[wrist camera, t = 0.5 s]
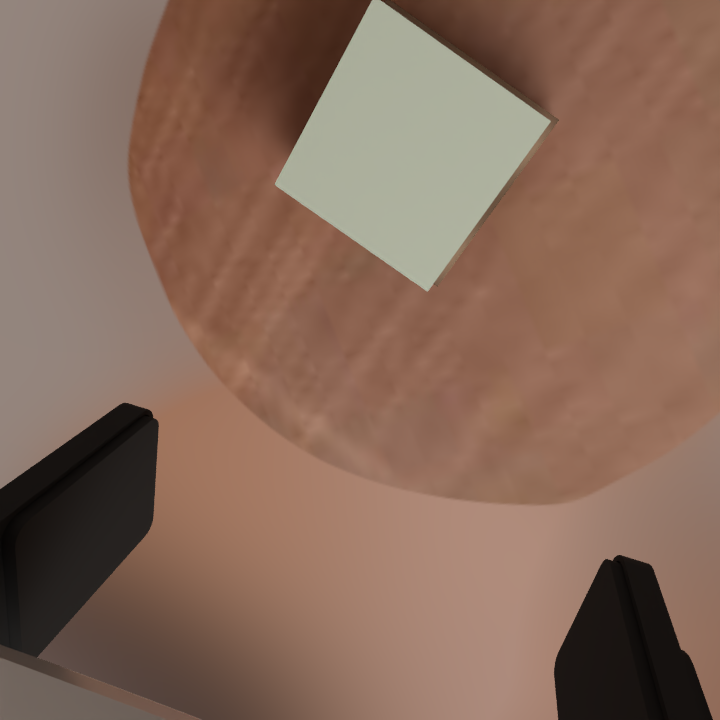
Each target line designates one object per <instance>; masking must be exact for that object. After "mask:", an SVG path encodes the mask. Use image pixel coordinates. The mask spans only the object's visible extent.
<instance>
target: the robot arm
mask: <svg viewBox="0 0 720 720" xmlns="http://www.w3.org/2000/svg"><path fill="white" fill-rule="evenodd" d="M158 427H159V425H158V421H157V420H156V419H154V418H153V414H152V412H151V411H150V410H148V409H145V408H141V407H138V406H135V405H132V404H129V403H122V404H120V405H119V406H117V407H116V408H115V409H113V410H112V411H110V412H109V413H107V414H106V415H105V416H103V417H102V418H101V419H99V420H98V421H96V422H95V423H93V424H92V425H91V426H89V427H88V428H86V429H85V430H83V431H82V432H81V433H79V434H78V435H76V436H75V437H73V438H72V439H71V440H69V441H68V442H66V443H65V444H64V445H62V446H61V447H59V448H58V449H56V450H55V451H54V452H52V453H51V454H49V455H48V456H47V457H45V458H44V459H42V460H41V461H40V462H38V463H37V464H35V465H34V466H32V467H31V468H30V469H28V470H27V471H25V472H24V473H23V474H21V475H20V476H18V477H17V478H16V479H14V480H13V481H11V482H10V483H8V484H7V485H6V486H4V487H3V488H1V489H0V720H201V719H199V718H196V717H194V716H191V715H188V714H186V713H183V712H180V711H178V710H175V709H172V708H170V707H167V706H164V705H162V704H159V703H157V702H154V701H151V700H149V699H146V698H143V697H141V696H138V695H135V694H133V693H130V692H128V691H125V690H122V689H120V688H117V687H114V686H112V685H109V684H106V683H103V682H101V681H98V680H96V679H93V678H90V677H88V676H85V675H82V674H80V673H77V672H74V671H72V670H69V669H67V668H64V667H61V666H59V665H56V664H53V663H50V662H48V661H45V660H42V659H39V658H37V657H38V656H39V654H40V653H41V652H42V651H43V650H44V649H45V648H46V647H47V646H48V644H49V643H50V642H51V641H52V640H53V639H54V637H56V635H57V634H58V633H59V632H60V631H61V630H62V629H63V628H64V626H65V625H66V624H67V623H68V622H69V621H70V619H72V617H73V616H74V615H75V614H76V613H77V612H78V611H79V610H80V608H81V607H82V606H83V605H84V604H85V603H86V601H88V600H89V598H90V597H91V596H92V595H93V594H94V593H95V592H96V591H97V589H98V588H99V587H100V586H101V585H102V584H103V583H104V582H105V580H106V579H107V578H108V577H109V576H110V575H111V574H112V573H113V571H114V570H115V569H116V568H117V567H118V566H119V565H120V563H121V562H122V561H123V560H124V559H125V558H126V557H127V555H129V554H130V552H131V551H132V550H133V549H134V548H135V547H136V546H137V544H138V543H139V542H140V541H141V540H142V539H143V538H144V537H145V535H146V534H147V533H148V531H149V529H150V527H151V524H152V521H153V512H154V496H155V478H156V461H157V444H158ZM554 678H555V688H556V699H557V710H558V720H713V719H712V716H711V713H710V711H709V708H708V705H707V702H706V699H705V696H704V694H703V691H702V688H701V685H700V682H699V679H698V677H697V674H696V671H695V668H694V665H693V663H692V661H691V659H690V657H689V655H688V654H687V653H685V651H683V650H681V649H680V646H679V643H678V640H677V637H676V634H675V632H674V628H673V625H672V622H671V619H670V616H669V613H668V611H667V608H666V605H665V602H664V599H663V596H662V593H661V590H660V587H659V584H658V581H657V578H656V576H655V573H654V570H653V568H652V566H651V565H650V564H647V563H644V562H641V561H637V560H634V559H631V558H628V557H625V556H621V555H618V556H616V557H615V558H614V560H613V561H611V560H608V559H605V560H604V561H603V563H602V564H601V566H600V568H599V570H598V572H597V574H596V576H595V579H594V580H593V583H592V585H591V587H590V589H589V591H588V593H587V595H586V597H585V599H584V601H583V603H582V605H581V607H580V609H579V611H578V613H577V615H576V617H575V620H574V622H573V624H572V626H571V628H570V630H569V632H568V634H567V636H566V638H565V640H564V642H563V644H562V646H561V648H560V650H559V652H558V655H557V657H556V662H555V668H554Z"/></svg>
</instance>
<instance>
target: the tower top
mask: <svg viewBox="0 0 720 720" xmlns="http://www.w3.org/2000/svg"><path fill="white" fill-rule="evenodd" d="M550 122H551V121H550V120H549V119H547V118H546V117H544V116H543V115H541V114H540V113H539V112H537V111H536V110H534V109H533V108H532V107H530V106H529V105H527V104H526V103H525V102H523V101H522V100H520V99H519V98H517V97H516V96H515V95H513V94H512V93H510V92H509V91H508V90H506V89H505V88H503V87H502V86H501V85H499V84H498V83H496V82H495V81H494V80H492V79H491V78H489V77H488V76H486V75H485V74H484V73H482V72H481V71H479V70H478V69H477V68H475V67H474V66H472V65H471V64H470V63H468V62H467V61H465V60H464V59H462V58H461V57H460V56H458V55H457V54H455V53H454V52H453V51H451V50H450V49H448V48H447V47H446V46H444V45H443V44H441V43H440V42H439V41H437V40H436V39H434V38H433V37H431V36H430V35H429V34H427V33H426V32H424V31H423V30H422V29H420V28H419V27H417V26H416V25H415V24H413V23H412V22H410V21H409V20H407V19H406V18H405V17H403V16H402V15H400V14H399V13H398V12H396V11H395V10H393V9H392V8H391V7H389V6H388V5H386V4H385V3H384V2H382V1H381V0H372V1H371V3H370V5H369V7H368V9H367V11H366V13H365V15H364V17H363V18H362V20H361V22H360V24H359V26H358V28H357V30H356V32H355V34H354V35H353V37H352V39H351V41H350V43H349V45H348V47H347V49H346V51H345V52H344V54H343V56H342V58H341V60H340V62H339V64H338V66H337V68H336V69H335V71H334V73H333V75H332V77H331V79H330V81H329V83H328V85H327V86H326V88H325V90H324V92H323V94H322V96H321V98H320V100H319V102H318V103H317V105H316V107H315V109H314V111H313V113H312V115H311V117H310V119H309V120H308V122H307V124H306V126H305V128H304V130H303V132H302V134H301V136H300V137H299V139H298V141H297V143H296V145H295V147H294V149H293V151H292V153H291V154H290V156H289V158H288V160H287V162H286V164H285V166H284V168H283V170H282V171H281V173H280V175H279V177H278V179H277V181H276V183H275V185H276V186H277V187H278V188H280V189H281V190H283V191H284V192H286V193H287V194H288V195H290V196H291V197H293V198H294V199H296V200H297V201H298V202H300V203H301V204H303V205H304V206H306V207H307V208H309V209H310V210H311V211H313V212H314V213H316V214H317V215H319V216H320V217H321V218H323V219H324V220H326V221H327V222H329V223H330V224H331V225H333V226H334V227H336V228H337V229H339V230H340V231H341V232H343V233H344V234H346V235H347V236H349V237H350V238H351V239H353V240H354V241H356V242H357V243H359V244H360V245H362V246H363V247H364V248H366V249H367V250H369V251H370V252H372V253H373V254H374V255H376V256H377V257H379V258H380V259H382V260H383V261H384V262H386V263H387V264H389V265H390V266H392V267H393V268H394V269H396V270H397V271H399V272H400V273H402V274H403V275H404V276H406V277H407V278H409V279H410V280H412V281H413V282H415V283H416V284H417V285H419V286H420V287H422V288H423V289H425V290H426V291H427V292H428V290H429V289H430V288H431V286H432V285H433V283H434V282H435V281H436V279H437V278H438V277H439V275H440V274H441V272H442V271H443V270H444V268H445V267H446V266H447V264H448V263H449V261H450V260H451V259H452V257H453V256H454V255H455V253H456V252H457V250H458V249H459V248H460V246H461V245H462V243H463V242H464V241H465V239H466V238H467V237H468V235H469V234H470V232H471V231H472V230H473V228H474V227H475V226H476V224H477V223H478V221H479V220H480V219H481V217H482V216H483V215H484V213H485V212H486V210H487V209H488V208H489V206H490V205H491V203H492V202H493V201H494V199H495V198H496V197H497V195H498V194H499V192H500V191H501V190H502V188H503V187H504V186H505V184H506V183H507V181H508V180H509V179H510V177H511V176H512V175H513V173H514V172H515V170H516V169H517V168H518V166H519V165H520V163H521V162H522V161H523V159H524V158H525V157H526V155H527V154H528V152H529V151H530V150H531V148H532V147H533V146H534V144H535V143H536V141H537V140H538V139H539V137H540V136H541V135H542V133H543V132H544V130H545V129H546V128H547V126H548V125H549V123H550Z"/></svg>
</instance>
